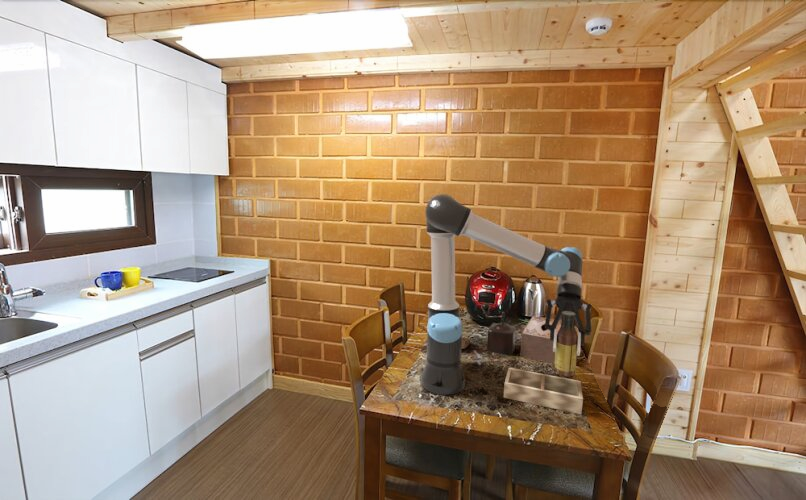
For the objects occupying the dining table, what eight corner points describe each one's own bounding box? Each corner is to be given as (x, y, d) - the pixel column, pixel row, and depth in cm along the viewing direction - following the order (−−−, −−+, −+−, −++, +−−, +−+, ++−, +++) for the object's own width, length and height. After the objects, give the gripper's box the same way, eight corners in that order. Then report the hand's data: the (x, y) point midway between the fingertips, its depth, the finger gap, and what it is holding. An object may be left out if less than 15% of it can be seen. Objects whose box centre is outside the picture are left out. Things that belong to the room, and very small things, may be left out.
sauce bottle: (569, 367, 123) (575, 309, 120) (578, 377, 117) (585, 316, 114) (549, 367, 123) (555, 309, 119) (558, 377, 117) (564, 315, 113)
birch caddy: (503, 397, 122) (504, 383, 121) (507, 380, 133) (508, 367, 132) (581, 414, 113) (582, 399, 113) (579, 395, 124) (580, 381, 124)
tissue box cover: (531, 336, 176) (533, 315, 175) (564, 342, 169) (566, 321, 168) (520, 356, 154) (521, 333, 152) (557, 364, 147) (560, 340, 146)
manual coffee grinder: (515, 346, 163) (518, 306, 161) (511, 356, 153) (514, 313, 151) (480, 339, 170) (482, 301, 167) (474, 348, 160) (476, 308, 157)
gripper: (599, 297, 127) (599, 362, 114) (539, 290, 134) (533, 351, 121) (602, 285, 121) (603, 352, 109) (539, 279, 128) (533, 341, 116)
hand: (566, 351), depth 115 cm, fingers closed on sauce bottle, 6 cm apart
